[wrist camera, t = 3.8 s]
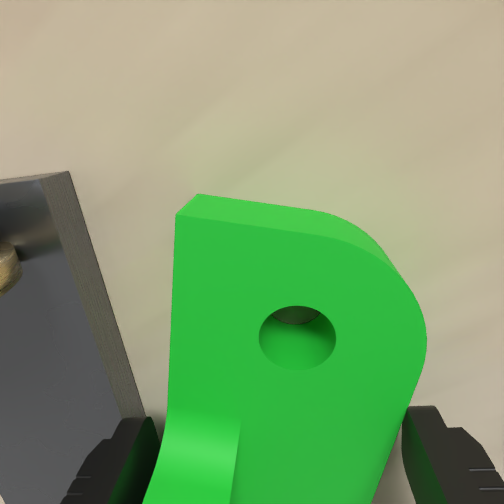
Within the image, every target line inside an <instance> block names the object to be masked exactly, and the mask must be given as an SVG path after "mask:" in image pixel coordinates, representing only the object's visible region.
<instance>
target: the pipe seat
mask: <svg viewBox="0 0 504 504" xmlns="http://www.w3.org/2000/svg"><path fill="white" fill-rule="evenodd" d="M129 417H146V416H145V413H144V410H143V407H142V404H141V400H140V397H139V394H138V391H137V388H136V385H135V381H134V378H133V375H132V372H131V369H130V365H129V362H128V359H127V356H126V353H125V350H124V346H123V343H122V340H121V337H120V334H119V330H118V327H117V324H116V321H115V318H114V315H113V311H112V308H111V305H110V302H109V299H108V295H107V292H106V289H105V286H104V283H103V280H102V276H101V273H100V270H99V267H98V264H97V260H96V257H95V254H94V251H93V248H92V244H91V241H90V238H89V235H88V232H87V229H86V225H85V222H84V219H83V216H82V213H81V209H80V206H79V203H78V200H77V197H76V194H75V190H74V187H73V184H72V181H71V178H70V174H69V171H65V172H57V173H49V174H42V175H34V176H26V177H19V178H11V179H3V180H0V495H1V496H2V498H3V500H4V502H5V503H6V504H60V503H61V501H62V499H63V498H64V497H66V495H67V491H68V489H69V487H70V485H71V483H72V482H73V480H75V479H76V475H77V473H78V471H79V469H80V467H81V466H82V464H83V462H84V460H85V459H86V457H87V455H88V454H89V453H90V452H91V451H92V450H93V449H94V448H95V447H96V446H97V445H98V444H99V443H100V442H101V441H102V440H103V439H111V438H112V436H113V434H114V432H115V430H116V428H117V426H118V424H119V422H120V421H121V420H122V419H123V418H129Z"/></svg>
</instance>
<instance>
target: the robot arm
mask: <svg viewBox="0 0 504 504" xmlns="http://www.w3.org/2000/svg"><path fill="white" fill-rule="evenodd" d="M160 448H161V445H160V442H159V439H158V435H157V432H156V429H155V426H154V422H153V420H152V418H151V417H129V418H123V419H122V420H121V421H120V422H119V424H118V426H117V428H116V430H115V432H114V434H113V436H112V438H111V439H103V440H102V441H101V442H100V443H99V444H98V445H97V446H96V447H95V448H94V449H93V450H92V451H91V452H90V453H89V454H88V455H87V457H86V459H85V460H84V462H83V464H82V466H81V467H80V469H79V471H78V473H77V475H76V479H75V480H73V482H72V483H71V485H70V487H69V489H68V491H67V495H66V497H64V498H63V499H62V501H61V503H60V504H142V503H143V500H144V497H145V494H146V492H147V489H148V486H149V484H150V481H151V478H152V475H153V472H154V469H155V466H156V463H157V459H158V456H159V452H160ZM401 449H402V458H403V464H404V468H405V472H406V475H407V478H408V481H409V484H410V487H411V490H412V493H413V495H414V498H415V501H416V504H504V481H503V480H502V478H501V477H500V475H499V473H498V472H496V470H495V467H494V465H493V463H492V462H491V460H490V458H489V457H488V455H487V453H486V452H485V450H484V448H483V447H482V445H481V444H480V443H479V442H477V441H476V440H475V439H474V438H473V437H472V436H471V435H470V434H469V433H467V432H466V431H465V430H464V429H463V428H462V427H457V428H447V426H446V424H445V423H444V421H443V419H442V417H441V415H440V413H439V411H438V410H437V408H436V407H435V406H409V407H408V408H407V411H406V413H405V416H404V419H403V421H402V445H401Z"/></svg>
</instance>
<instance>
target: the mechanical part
mask: <svg viewBox="0 0 504 504" xmlns="http://www.w3.org/2000/svg"><path fill="white" fill-rule="evenodd" d="M288 306H306V307H310V308H313V309H315V310H317V311H319V312H321V313H320V315H319V316H317V317H316V318H315V319H313V320H312V321H309V322H307V323H303V324H287V323H284V322H281V321H279V320H277V319H276V318H274V317H273V316H272V315H271V314H272V313H273V312H275V311H277V310H278V309H281V308H284V307H288ZM426 347H427V336H426V327H425V322H424V318H423V314H422V312H421V309H420V306H419V304H418V302H417V300H416V298H415V296H414V294H413V293H412V291H411V290H410V288H409V287H408V285H407V284H406V283H405V281H404V280H403V278H402V277H401V275H400V274H399V273H398V271H397V270H396V268H395V267H394V265H393V264H392V263H391V261H390V260H389V258H388V257H387V255H386V254H385V253H384V251H383V250H382V248H381V247H380V246H379V245H378V244H377V243H376V242H375V241H374V240H373V239H372V238H371V237H370V236H369V235H368V234H367V233H365V232H364V231H363V230H361V229H360V228H358V227H357V226H355V225H353V224H352V223H350V222H348V221H346V220H344V219H342V218H339V217H337V216H334V215H331V214H328V213H324V212H319V211H314V210H308V209H301V208H294V207H287V206H280V205H273V204H266V203H259V202H252V201H245V200H238V199H231V198H224V197H217V196H210V195H203V194H197V195H196V196H195V197H194V198H193V199H192V200H190V201H189V202H188V203H187V204H186V205H185V206H184V207H183V208H182V209H181V210H180V211H179V212H178V213H177V214H176V218H175V242H174V265H173V289H172V312H171V335H170V359H169V382H168V406H167V417H166V424H165V429H164V435H163V439H162V444H161V448H160V452H159V456H158V459H157V463H156V466H155V469H154V472H153V475H152V478H151V481H150V484H149V486H148V489H147V492H146V494H145V497H144V500H143V503H142V504H371V502H372V499H373V497H374V494H375V492H376V489H377V486H378V484H379V481H380V479H381V476H382V473H383V471H384V468H385V466H386V463H387V460H388V458H389V455H390V453H391V450H392V447H393V445H394V442H395V439H396V437H397V434H398V432H399V429H400V426H401V424H402V421H403V419H404V416H405V413H406V411H407V408H408V406H409V403H410V400H411V398H412V395H413V393H414V390H415V387H416V385H417V382H418V380H419V377H420V374H421V371H422V368H423V365H424V361H425V356H426Z"/></svg>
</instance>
